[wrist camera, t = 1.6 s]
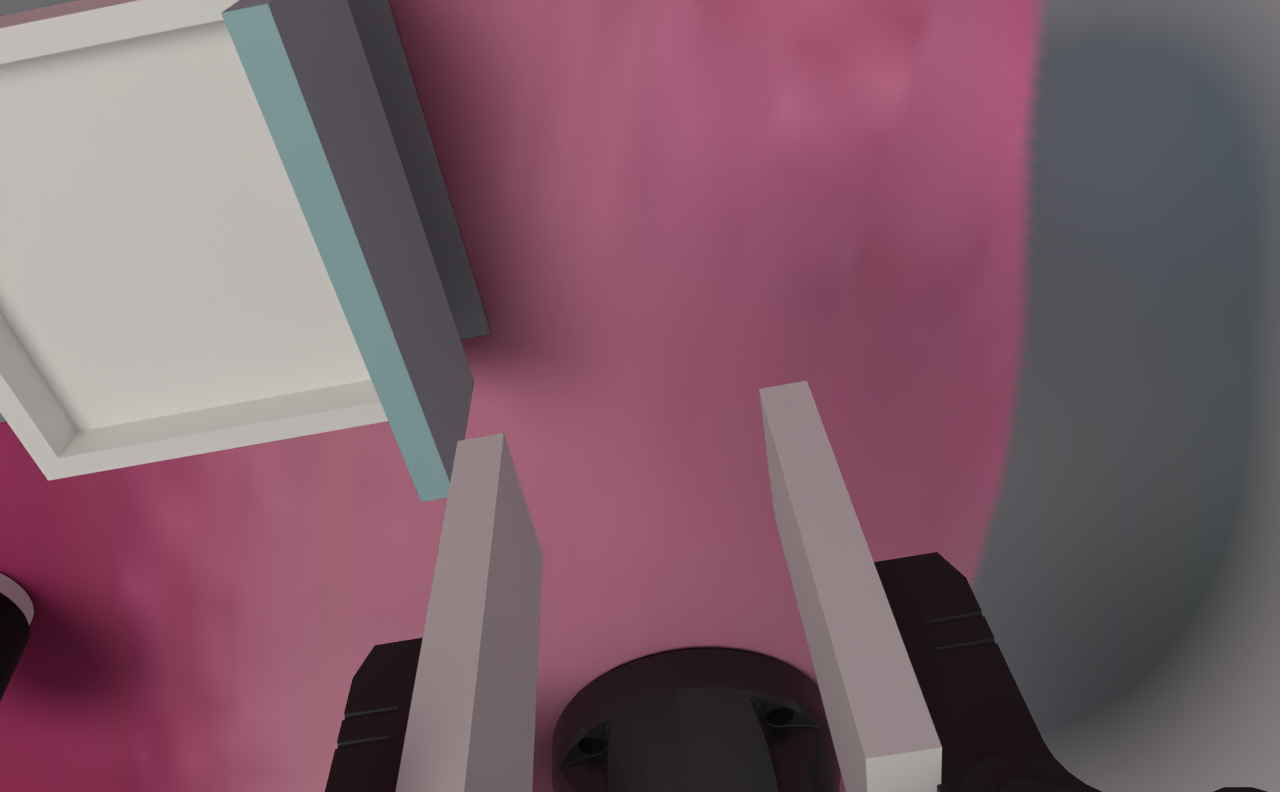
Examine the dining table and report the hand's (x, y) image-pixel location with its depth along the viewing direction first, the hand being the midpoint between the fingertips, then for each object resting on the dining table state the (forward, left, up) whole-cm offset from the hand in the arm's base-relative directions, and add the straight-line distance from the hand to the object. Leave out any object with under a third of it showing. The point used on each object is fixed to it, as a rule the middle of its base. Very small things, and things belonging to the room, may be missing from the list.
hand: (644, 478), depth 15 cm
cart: (0, +14, -19) cm, 23 cm away
